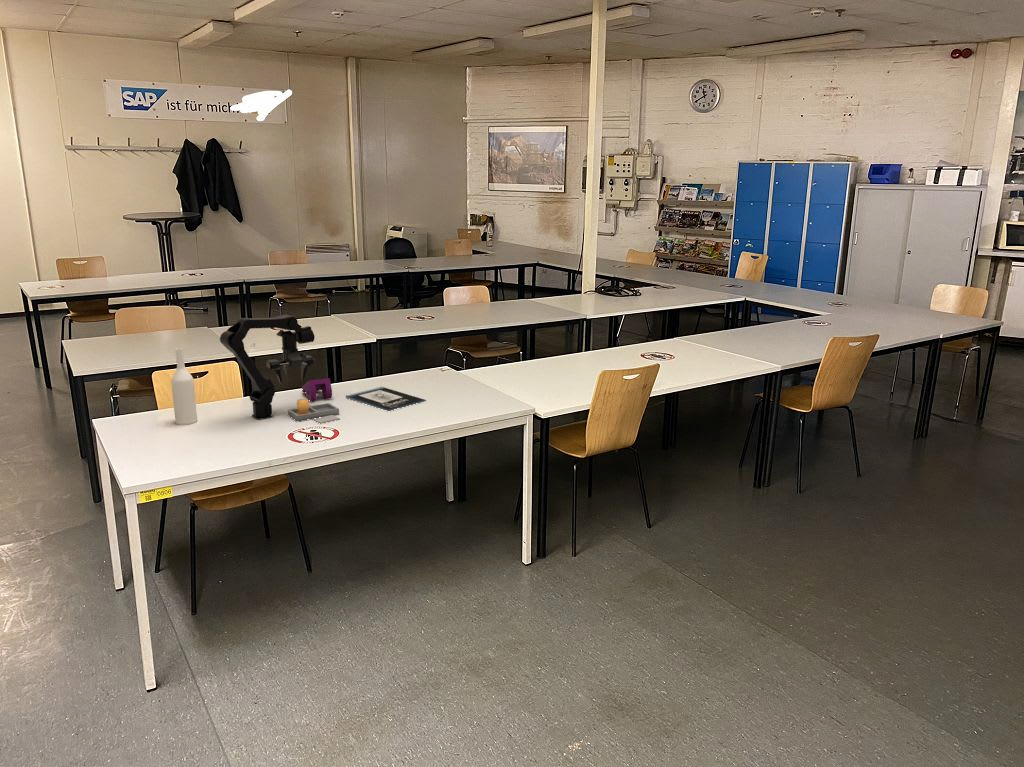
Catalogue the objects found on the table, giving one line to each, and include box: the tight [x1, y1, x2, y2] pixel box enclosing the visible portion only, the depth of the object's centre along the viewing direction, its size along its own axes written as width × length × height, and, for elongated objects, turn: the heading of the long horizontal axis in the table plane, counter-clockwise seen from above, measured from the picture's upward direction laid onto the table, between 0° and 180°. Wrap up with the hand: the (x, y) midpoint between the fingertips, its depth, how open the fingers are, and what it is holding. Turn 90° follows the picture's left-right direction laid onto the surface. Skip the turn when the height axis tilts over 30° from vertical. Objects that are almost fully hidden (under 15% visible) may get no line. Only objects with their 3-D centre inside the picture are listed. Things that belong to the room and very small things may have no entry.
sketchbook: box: [345, 386, 427, 412], centre depth 338 cm, size 22×30×2 cm
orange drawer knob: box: [296, 398, 310, 415], centre depth 311 cm, size 5×5×6 cm
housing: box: [287, 402, 340, 422], centre depth 314 cm, size 18×10×2 cm, turn 127°
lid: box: [312, 415, 341, 425], centre depth 309 cm, size 9×6×1 cm, turn 135°
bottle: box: [170, 347, 198, 426], centre depth 300 cm, size 8×8×30 cm
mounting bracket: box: [301, 377, 333, 402], centre depth 341 cm, size 9×8×18 cm
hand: (291, 382), depth 319 cm, fingers open, 9 cm apart
